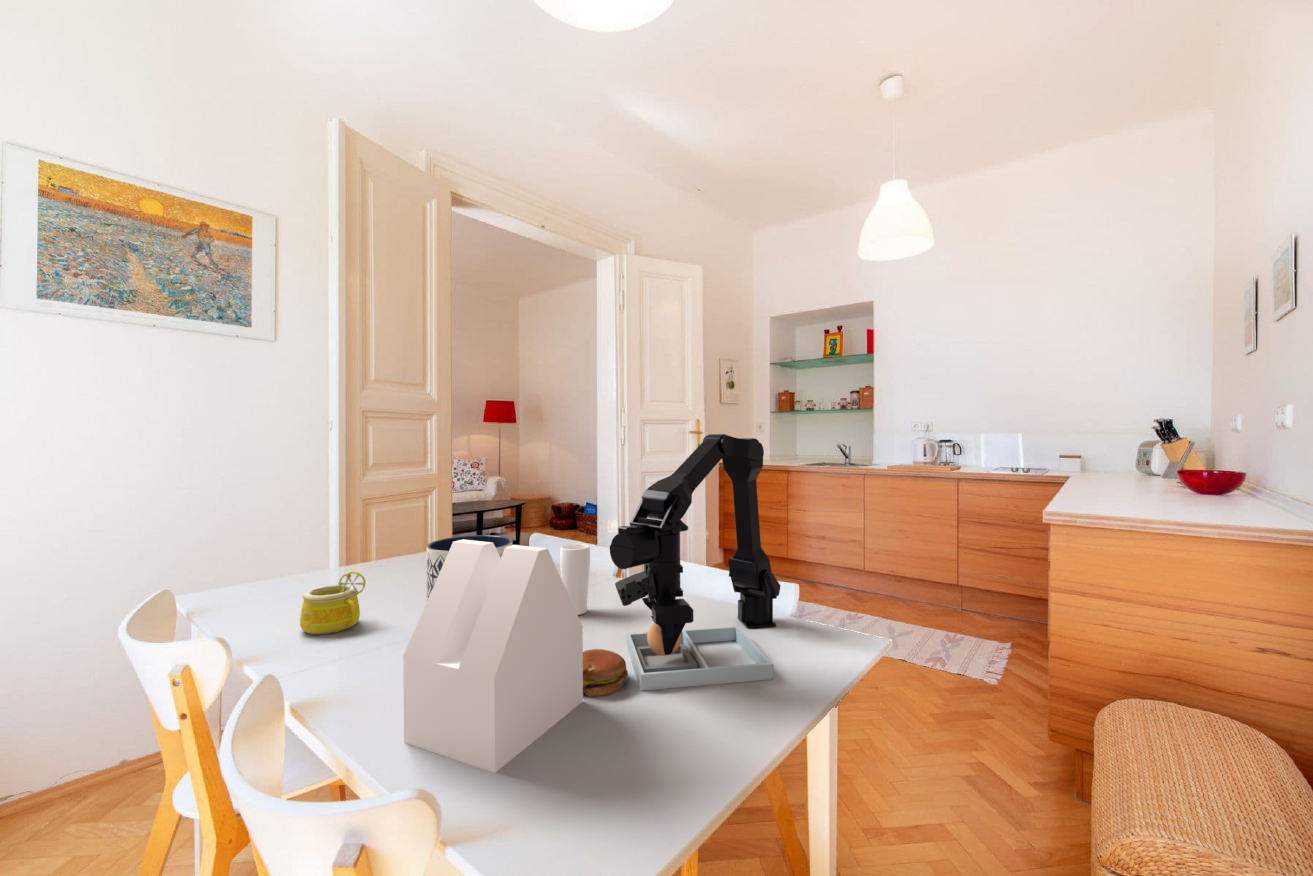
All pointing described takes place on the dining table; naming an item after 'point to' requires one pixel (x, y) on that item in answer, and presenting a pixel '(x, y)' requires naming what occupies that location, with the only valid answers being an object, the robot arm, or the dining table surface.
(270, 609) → the dining table surface
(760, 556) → the robot arm
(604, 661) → the burger
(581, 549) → the drinking glass
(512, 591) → the slotted house block
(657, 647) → the ball
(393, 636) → the dining table surface
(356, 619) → the mug
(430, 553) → the planter
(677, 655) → the square tray
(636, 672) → the two compartment tray
